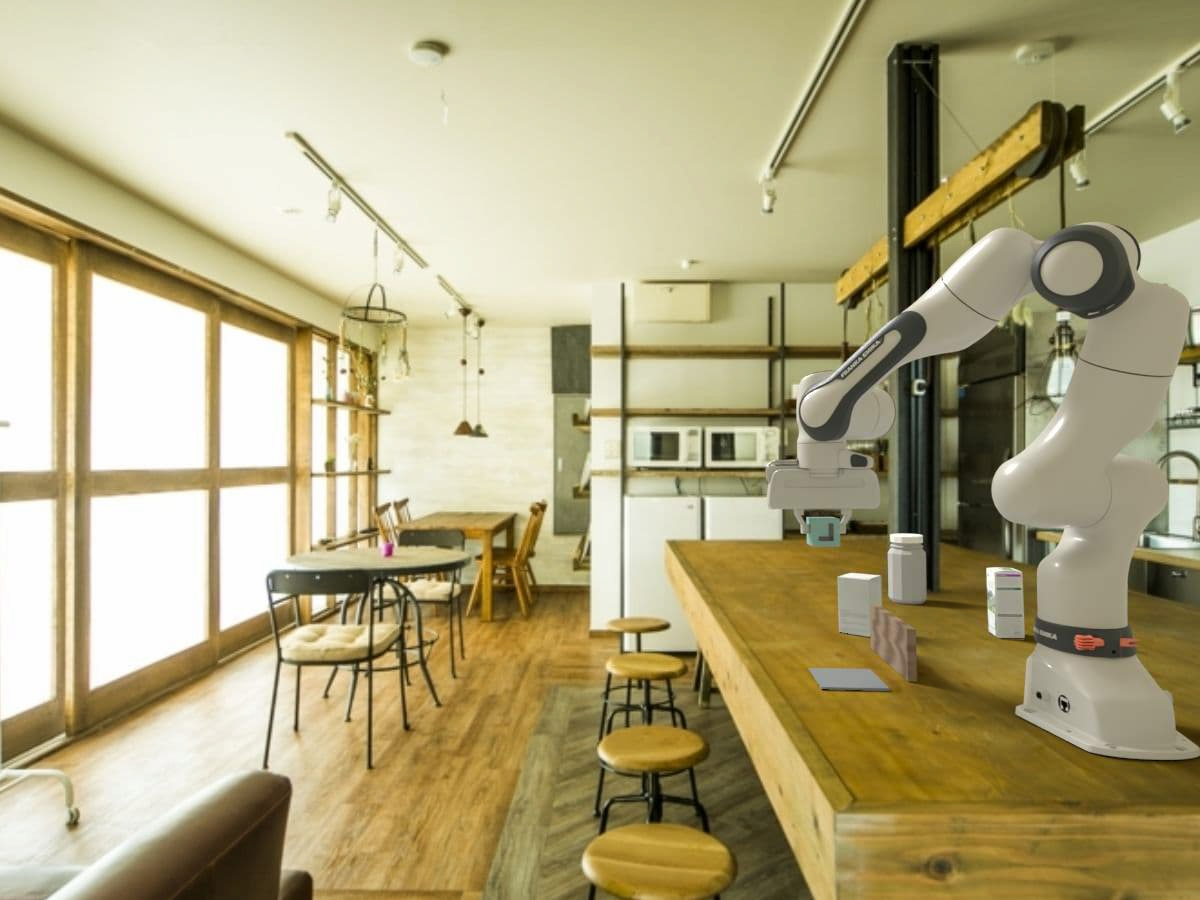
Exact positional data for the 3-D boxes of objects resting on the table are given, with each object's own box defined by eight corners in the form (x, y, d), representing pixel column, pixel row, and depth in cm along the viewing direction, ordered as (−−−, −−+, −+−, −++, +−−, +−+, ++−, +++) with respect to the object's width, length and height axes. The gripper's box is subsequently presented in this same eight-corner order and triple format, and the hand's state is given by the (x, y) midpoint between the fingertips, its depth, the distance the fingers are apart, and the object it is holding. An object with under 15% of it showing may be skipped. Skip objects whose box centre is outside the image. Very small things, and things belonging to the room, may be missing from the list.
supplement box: (883, 631, 158) (882, 575, 159) (870, 638, 153) (869, 579, 153) (851, 626, 163) (850, 571, 164) (837, 632, 158) (836, 575, 158)
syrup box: (1025, 639, 150) (1024, 571, 150) (995, 638, 151) (994, 570, 152) (1015, 633, 156) (1014, 567, 156) (986, 632, 157) (985, 566, 157)
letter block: (840, 546, 129) (840, 519, 129) (812, 546, 130) (811, 519, 130) (833, 543, 134) (833, 517, 134) (806, 543, 135) (806, 517, 135)
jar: (892, 604, 188) (891, 536, 188) (884, 597, 198) (883, 532, 198) (932, 605, 186) (930, 536, 187) (921, 598, 196) (920, 533, 196)
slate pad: (889, 691, 117) (889, 688, 117) (821, 690, 118) (821, 687, 118) (870, 671, 128) (870, 669, 128) (808, 670, 129) (808, 668, 129)
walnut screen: (916, 681, 122) (915, 629, 123) (907, 681, 122) (906, 629, 123) (878, 648, 144) (877, 604, 144) (870, 648, 144) (870, 604, 145)
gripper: (767, 459, 130) (768, 535, 130) (882, 458, 128) (884, 534, 128) (762, 459, 136) (763, 532, 136) (872, 458, 135) (873, 531, 134)
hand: (823, 533), depth 132 cm, fingers closed on letter block, 5 cm apart
